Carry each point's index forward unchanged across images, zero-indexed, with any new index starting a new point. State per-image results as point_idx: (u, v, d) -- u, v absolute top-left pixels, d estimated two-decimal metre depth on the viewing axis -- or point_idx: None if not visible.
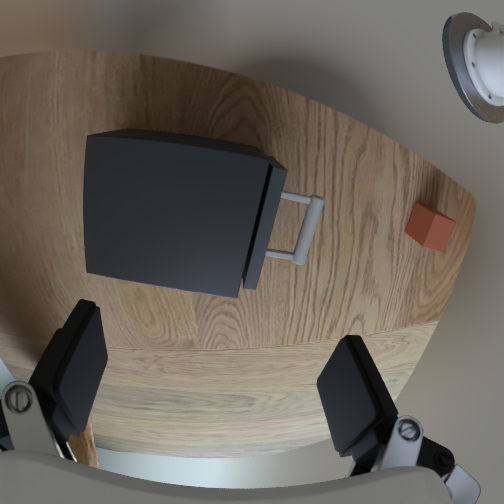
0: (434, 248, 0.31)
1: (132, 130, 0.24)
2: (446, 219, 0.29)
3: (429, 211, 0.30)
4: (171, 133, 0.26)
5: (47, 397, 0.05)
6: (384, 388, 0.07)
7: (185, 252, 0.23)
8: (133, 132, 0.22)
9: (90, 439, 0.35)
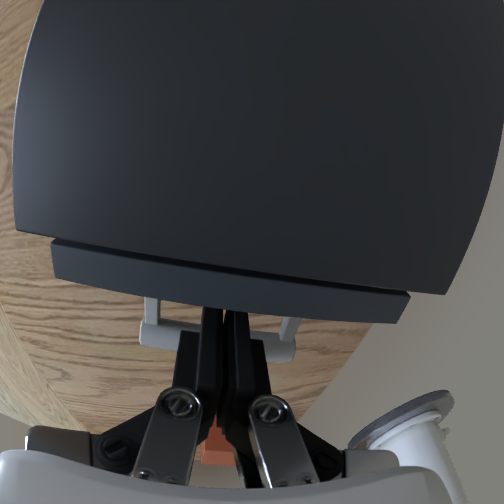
0: (204, 458, 0.21)
1: None
2: None
3: None
4: None
5: (202, 397, 0.07)
6: (249, 359, 0.08)
7: (180, 16, 0.04)
8: None
9: None
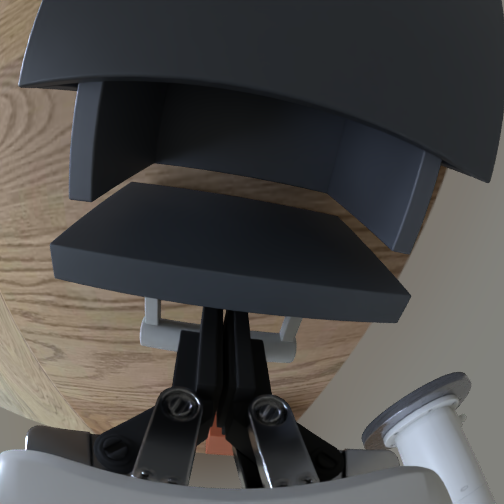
0: (209, 446, 0.20)
1: None
2: None
3: None
4: None
5: (203, 397, 0.07)
6: (250, 359, 0.08)
7: None
8: None
9: None
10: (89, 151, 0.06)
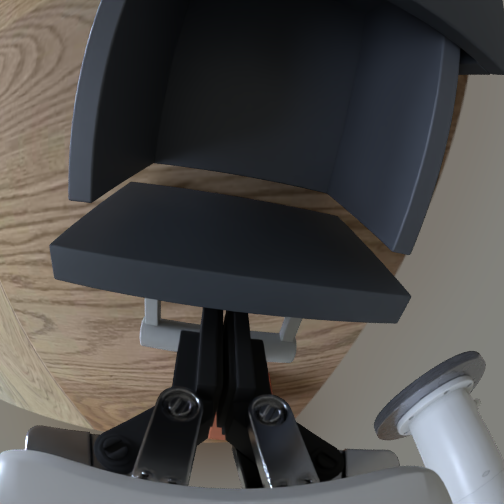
0: (213, 428, 0.18)
1: None
2: None
3: None
4: None
5: (203, 397, 0.07)
6: (250, 359, 0.08)
7: None
8: None
9: None
10: (89, 152, 0.06)
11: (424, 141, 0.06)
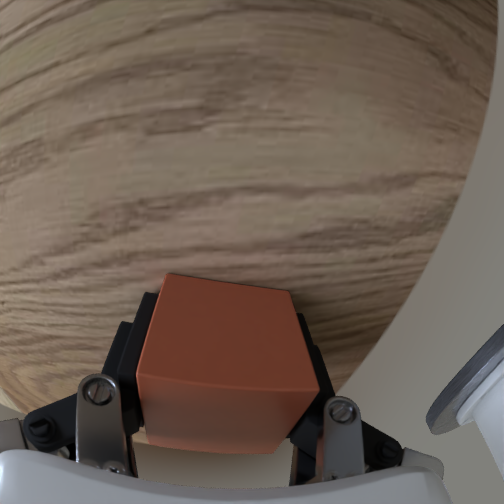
0: (148, 420, 0.07)
1: None
2: (286, 431, 0.07)
3: (305, 355, 0.07)
4: None
5: (126, 387, 0.06)
6: (318, 365, 0.08)
7: None
8: None
9: None
10: None
11: None
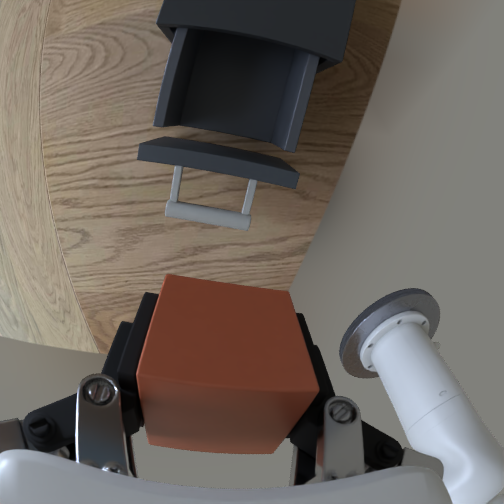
0: (149, 420, 0.07)
1: None
2: (286, 431, 0.07)
3: (305, 356, 0.07)
4: None
5: (126, 387, 0.06)
6: (318, 365, 0.08)
7: None
8: None
9: None
10: (164, 108, 0.16)
11: (295, 104, 0.17)
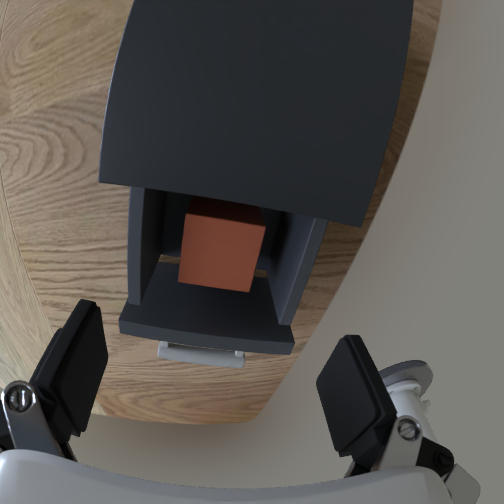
0: (184, 251, 0.16)
1: None
2: (254, 263, 0.17)
3: (261, 218, 0.17)
4: None
5: (48, 397, 0.05)
6: (383, 388, 0.07)
7: (199, 76, 0.09)
8: None
9: None
10: (137, 286, 0.15)
11: (294, 277, 0.15)
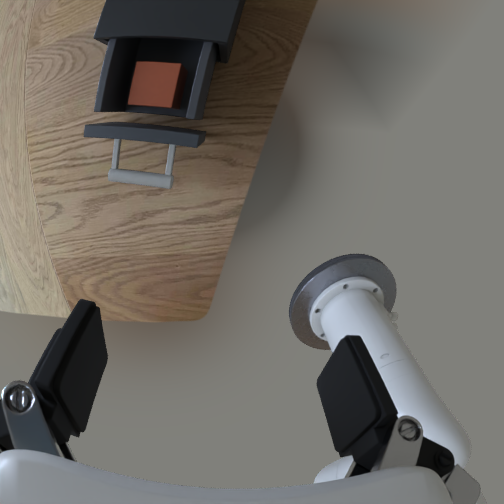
0: (133, 83, 0.21)
1: None
2: (174, 86, 0.22)
3: (181, 65, 0.22)
4: None
5: (47, 397, 0.05)
6: (384, 388, 0.07)
7: None
8: None
9: None
10: (101, 98, 0.20)
11: (193, 82, 0.20)
